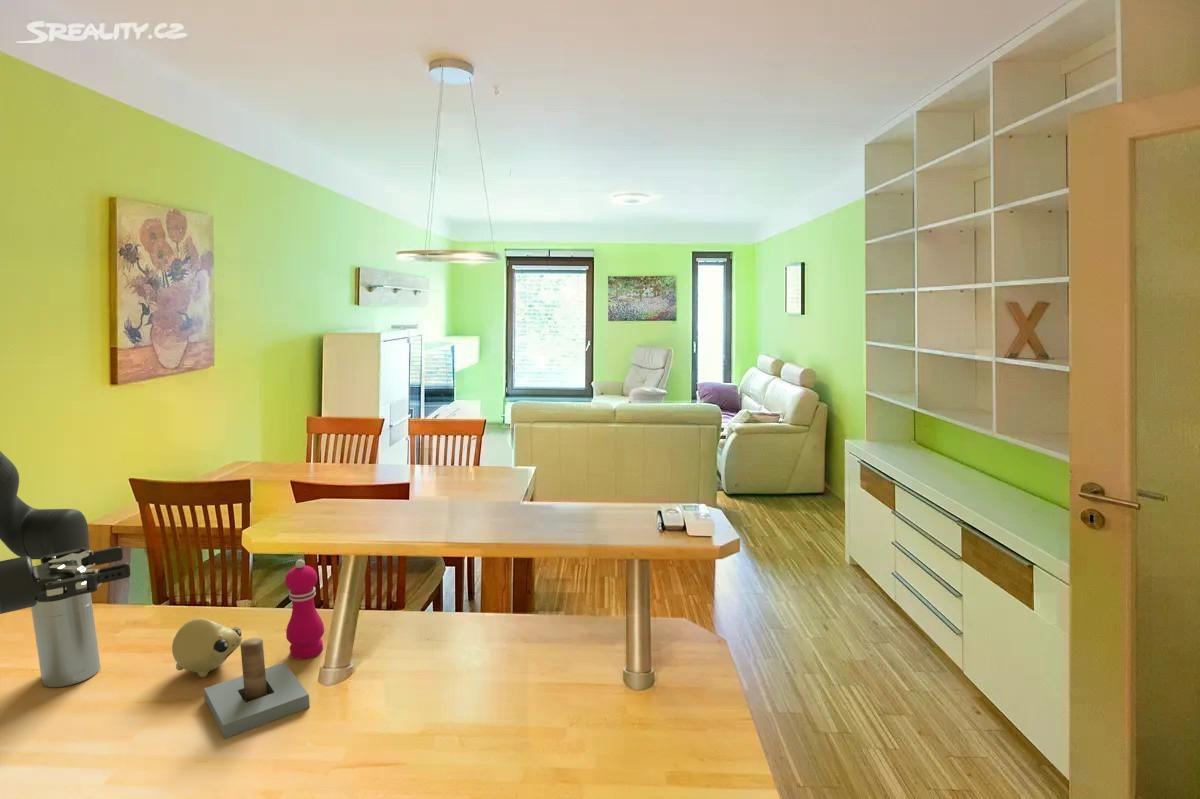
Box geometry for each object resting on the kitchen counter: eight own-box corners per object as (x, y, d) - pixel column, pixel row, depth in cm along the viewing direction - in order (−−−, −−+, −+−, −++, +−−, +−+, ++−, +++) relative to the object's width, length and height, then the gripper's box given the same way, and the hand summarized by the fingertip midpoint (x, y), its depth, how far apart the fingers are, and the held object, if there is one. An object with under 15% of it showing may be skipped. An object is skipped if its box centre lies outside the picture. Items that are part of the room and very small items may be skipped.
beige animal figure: (223, 685, 137) (218, 633, 136) (163, 682, 139) (157, 630, 137) (252, 658, 147) (248, 609, 145) (197, 655, 148) (191, 606, 146)
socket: (205, 700, 133) (204, 688, 132) (285, 674, 141) (284, 662, 141) (224, 738, 122) (223, 725, 122) (309, 707, 131) (308, 694, 130)
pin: (243, 703, 132) (238, 642, 130) (264, 696, 134) (259, 635, 132) (248, 712, 129) (243, 650, 127) (270, 705, 131) (265, 643, 129)
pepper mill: (297, 642, 153) (290, 552, 150) (331, 642, 153) (324, 553, 150) (281, 660, 146) (273, 566, 143) (316, 661, 146) (310, 567, 142)
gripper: (-11, 580, 99) (129, 551, 109) (-11, 549, 110) (116, 526, 120) (-3, 631, 100) (135, 598, 111) (-4, 596, 111) (122, 568, 121)
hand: (125, 560), depth 115 cm, fingers open, 8 cm apart
